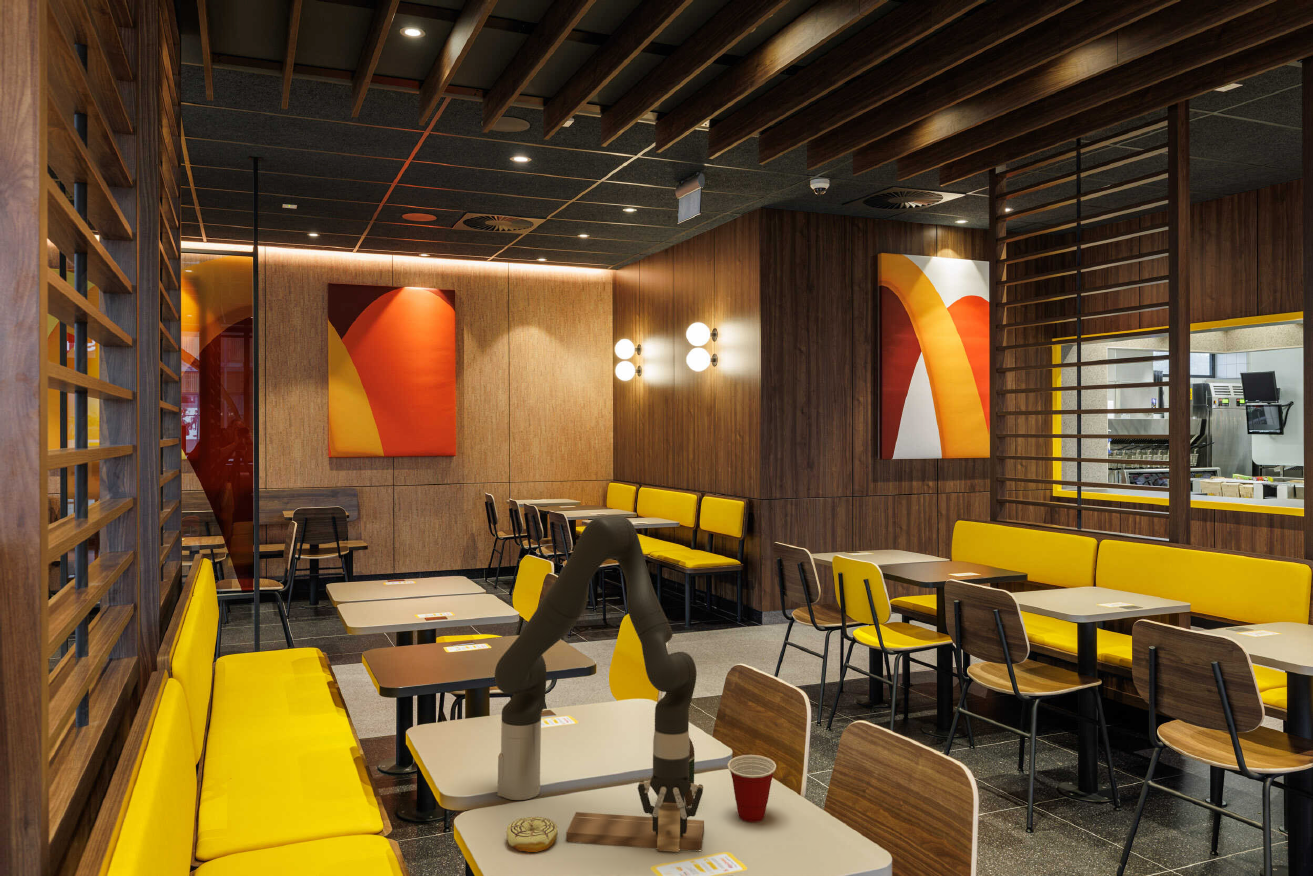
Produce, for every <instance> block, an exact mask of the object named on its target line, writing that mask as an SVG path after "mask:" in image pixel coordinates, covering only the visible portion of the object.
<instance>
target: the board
mask: <svg viewBox="0 0 1313 876" xmlns="http://www.w3.org/2000/svg"><path fill="white" fill-rule="evenodd" d="M652 826H653V817H652V816H642V815H641V816H640V815H638V816H637V815H628V814H627V815H624V814H612V813H611V814H610V813H597V812H595V813H594V812H580V811H579V812H578V811H576V812H575V813H574V815H573V818H572V820H571V822H570V824H569V826H568V828H567V830H566V835H565V842H566V841H567V842H566V843H574V842H581V843H580V844H589V843H593V844H592V845H603V844H605V845H607V846H621V847H633V848H648V849H657V839H658V835H656V832H653V829H652ZM704 831H705V820H703V819H700V820H699V819H689V818H687V832H686V834H683V837H681V836H680V841H679V849H682V850H681V851H688V850H701V851H702V848H703V841H702V840H704V834H705V833H704Z"/></svg>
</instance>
